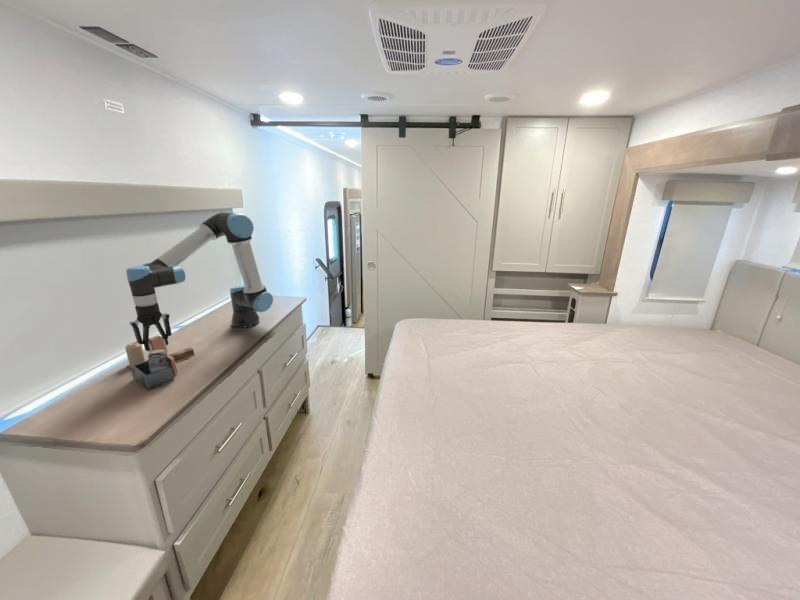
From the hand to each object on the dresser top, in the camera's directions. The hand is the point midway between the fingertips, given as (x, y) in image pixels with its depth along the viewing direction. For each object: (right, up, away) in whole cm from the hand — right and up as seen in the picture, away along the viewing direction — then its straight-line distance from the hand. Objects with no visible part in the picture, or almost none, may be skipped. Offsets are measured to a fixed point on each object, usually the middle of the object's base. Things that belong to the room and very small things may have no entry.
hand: (158, 354), depth 135 cm
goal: (+6, -9, -9) cm, 14 cm away
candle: (-11, -5, +3) cm, 13 cm away
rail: (+2, -4, +5) cm, 7 cm away
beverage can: (+7, -8, -8) cm, 14 cm away
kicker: (+5, -6, -2) cm, 8 cm away
